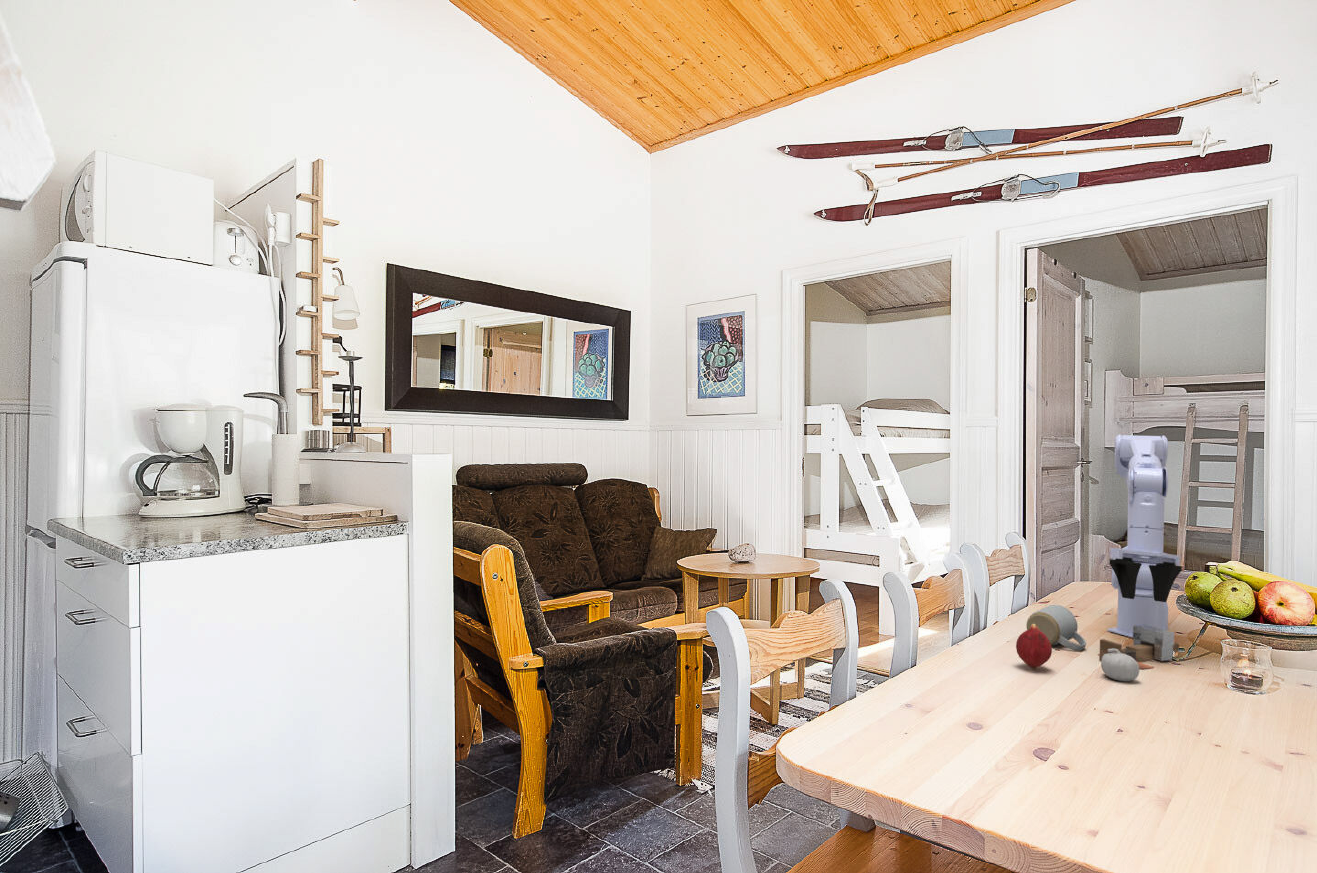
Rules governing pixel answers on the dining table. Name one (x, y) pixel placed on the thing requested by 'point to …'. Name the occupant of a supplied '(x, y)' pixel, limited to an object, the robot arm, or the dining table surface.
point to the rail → (1133, 651)
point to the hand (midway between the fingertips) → (1144, 600)
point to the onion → (1034, 647)
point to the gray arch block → (1155, 640)
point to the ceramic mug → (1057, 626)
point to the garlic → (1119, 666)
